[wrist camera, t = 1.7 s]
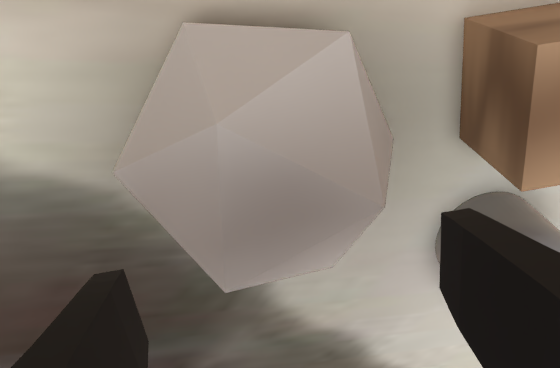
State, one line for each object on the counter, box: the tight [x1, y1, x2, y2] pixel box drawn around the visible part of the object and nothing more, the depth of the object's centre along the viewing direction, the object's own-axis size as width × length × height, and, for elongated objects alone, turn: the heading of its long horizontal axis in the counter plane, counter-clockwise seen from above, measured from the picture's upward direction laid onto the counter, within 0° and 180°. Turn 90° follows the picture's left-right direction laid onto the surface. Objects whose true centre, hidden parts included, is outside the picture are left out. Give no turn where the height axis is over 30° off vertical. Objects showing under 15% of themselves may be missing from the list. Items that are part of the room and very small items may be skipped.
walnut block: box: [460, 3, 560, 192], centre depth 18 cm, size 5×5×5 cm
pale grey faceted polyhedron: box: [112, 22, 394, 293], centre depth 17 cm, size 8×9×10 cm
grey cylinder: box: [435, 192, 560, 263], centre depth 21 cm, size 5×5×6 cm
